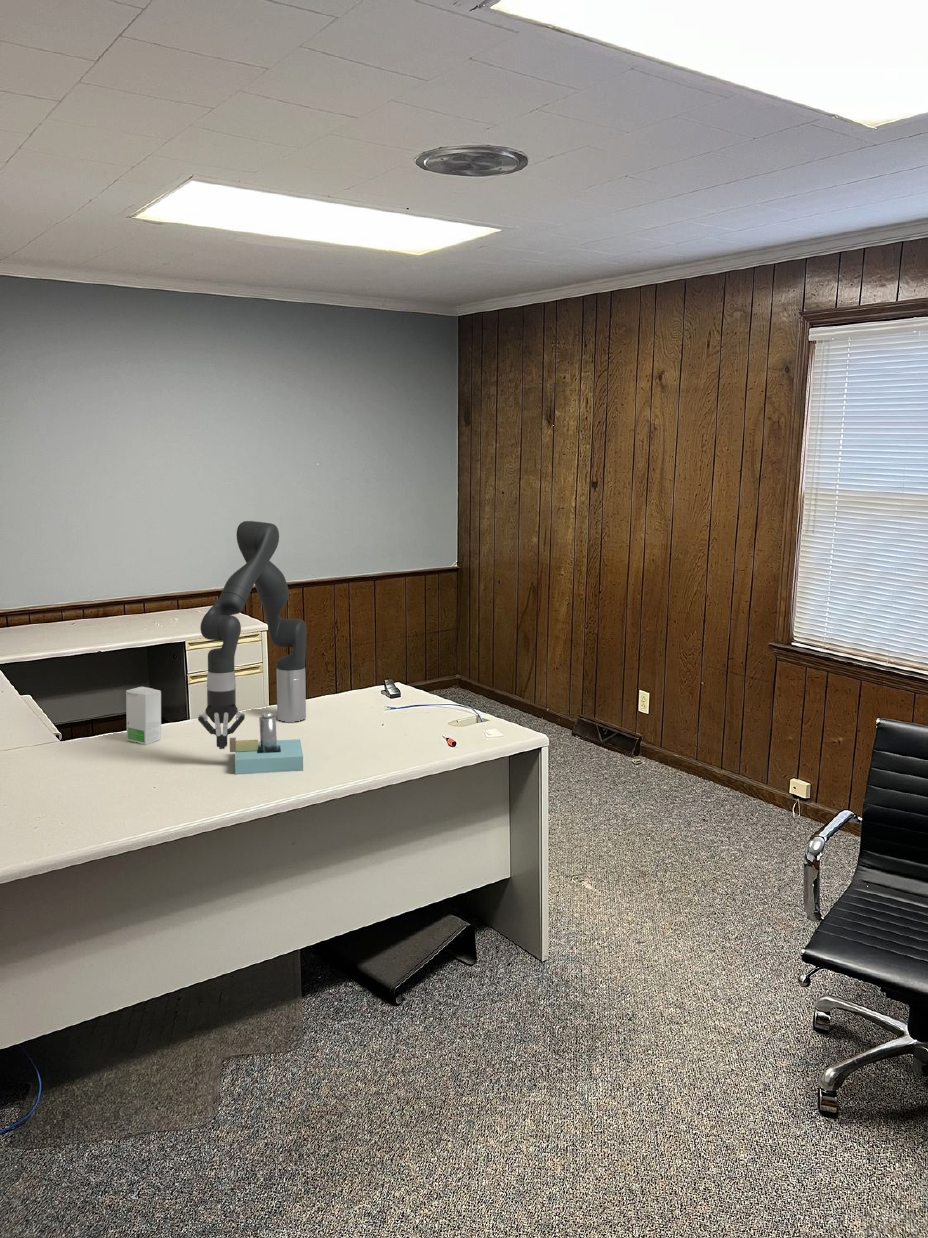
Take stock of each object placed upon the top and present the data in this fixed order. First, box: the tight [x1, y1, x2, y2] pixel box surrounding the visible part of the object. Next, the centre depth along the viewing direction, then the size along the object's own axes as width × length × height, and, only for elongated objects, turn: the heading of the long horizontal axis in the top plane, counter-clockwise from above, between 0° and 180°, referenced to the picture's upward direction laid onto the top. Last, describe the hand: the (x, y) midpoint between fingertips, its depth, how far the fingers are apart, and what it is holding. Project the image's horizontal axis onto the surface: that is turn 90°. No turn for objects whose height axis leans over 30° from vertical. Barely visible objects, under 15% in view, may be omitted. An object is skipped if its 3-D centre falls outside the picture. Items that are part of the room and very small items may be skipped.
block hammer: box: [229, 737, 259, 753], centre depth 251 cm, size 3×8×3 cm, turn 103°
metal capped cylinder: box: [258, 711, 278, 753], centre depth 252 cm, size 4×4×13 cm
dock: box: [234, 738, 304, 775], centre depth 253 cm, size 16×18×4 cm
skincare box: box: [125, 686, 162, 746], centre depth 271 cm, size 8×7×16 cm
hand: (221, 748), depth 250 cm, fingers closed
